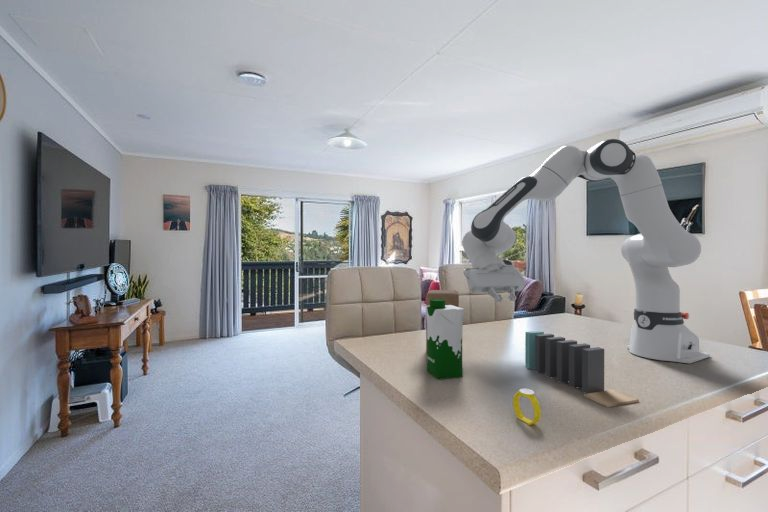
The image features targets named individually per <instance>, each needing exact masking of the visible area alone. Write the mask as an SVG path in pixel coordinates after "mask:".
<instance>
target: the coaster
mask: <svg viewBox="0 0 768 512" xmlns="http://www.w3.org/2000/svg"><path fill="white" fill-rule="evenodd" d="M583 397H584V398H586V399H589V400H590V401H594V402H596V403H597V404H600V405H601V406H605V407H607V408H611V407H617V406H622V405H623V406H624V405H628V404H633V403H638V402H640V399H638V398H636V397H634V396H631V395H629V394H626V393H624V392H621V391H618V390H617V389H614V388H613V389H612V388H611V389H607V390H604V391H600V392H594V393H588V394H586V393H584V394H583Z"/></svg>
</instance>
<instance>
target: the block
mask: <svg viewBox="0 0 768 512" xmlns="http://www.w3.org/2000/svg"><path fill="white" fill-rule="evenodd" d="M425 297H426V298H425V299H426V300H425V301H426V302H425V304H426V305H425V307H426V306H430V299H444V300H445V305H453V306H456V307H459V303H460V302H459V301H460V299H459V298H460V297H459V291H458V290H451V289H450V290H448V289H445V290H444V289H431V290H428V292H427V293H426V295H425ZM459 308H460V307H459ZM425 316H426V320H425V322H426V323H425V324H426V326H425V329H426V330H425V331H426V332H425V334H426V335H425V339H426V341H425V342H426V343H425V344H426V345H425V346H426V348H425V350H426V351H425V352H426V354H427V315H426V314H425Z"/></svg>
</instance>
